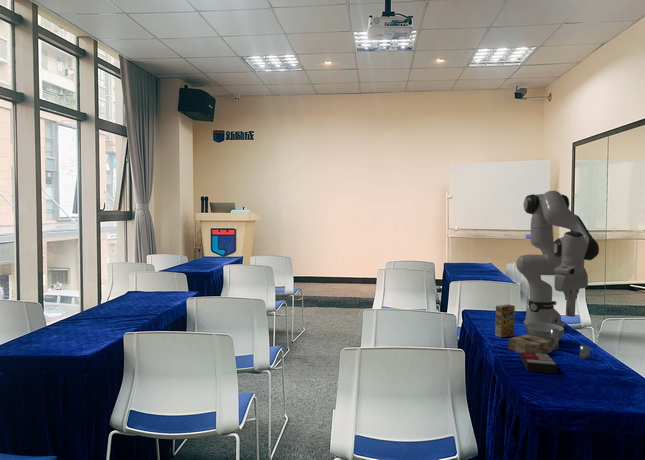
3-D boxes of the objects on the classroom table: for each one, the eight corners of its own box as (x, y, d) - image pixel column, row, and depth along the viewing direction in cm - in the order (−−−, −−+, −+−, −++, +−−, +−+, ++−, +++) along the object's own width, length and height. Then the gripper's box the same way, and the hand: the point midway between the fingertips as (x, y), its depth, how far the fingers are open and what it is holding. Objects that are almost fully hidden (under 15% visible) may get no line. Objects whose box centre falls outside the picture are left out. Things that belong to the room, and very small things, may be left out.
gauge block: (527, 344, 219) (527, 334, 219) (551, 351, 209) (551, 340, 208) (508, 349, 212) (508, 338, 211) (532, 357, 201) (532, 345, 201)
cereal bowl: (528, 333, 237) (529, 320, 237) (565, 339, 228) (565, 325, 228) (522, 342, 223) (523, 327, 223) (561, 348, 214) (562, 333, 214)
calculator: (548, 353, 196) (557, 363, 182) (547, 363, 197) (557, 374, 182) (520, 351, 199) (527, 360, 184) (520, 361, 199) (527, 371, 184)
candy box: (500, 337, 230) (501, 307, 229) (494, 335, 233) (495, 305, 232) (514, 335, 233) (515, 305, 232) (507, 333, 237) (509, 304, 236)
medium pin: (552, 347, 215) (553, 328, 215) (559, 349, 212) (560, 329, 212) (547, 348, 214) (548, 329, 213) (555, 350, 210) (556, 331, 210)
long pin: (568, 314, 209) (570, 283, 207) (576, 315, 205) (578, 284, 204) (564, 315, 207) (565, 284, 206) (571, 317, 204) (573, 285, 203)
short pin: (582, 355, 204) (583, 344, 203) (590, 358, 200) (591, 347, 200) (577, 357, 202) (578, 346, 201) (586, 359, 199) (586, 348, 198)
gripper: (578, 266, 213) (577, 295, 214) (552, 269, 202) (550, 300, 203) (592, 267, 207) (591, 298, 208) (566, 271, 197) (564, 303, 198)
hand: (570, 299), depth 206 cm, fingers closed on long pin, 4 cm apart
